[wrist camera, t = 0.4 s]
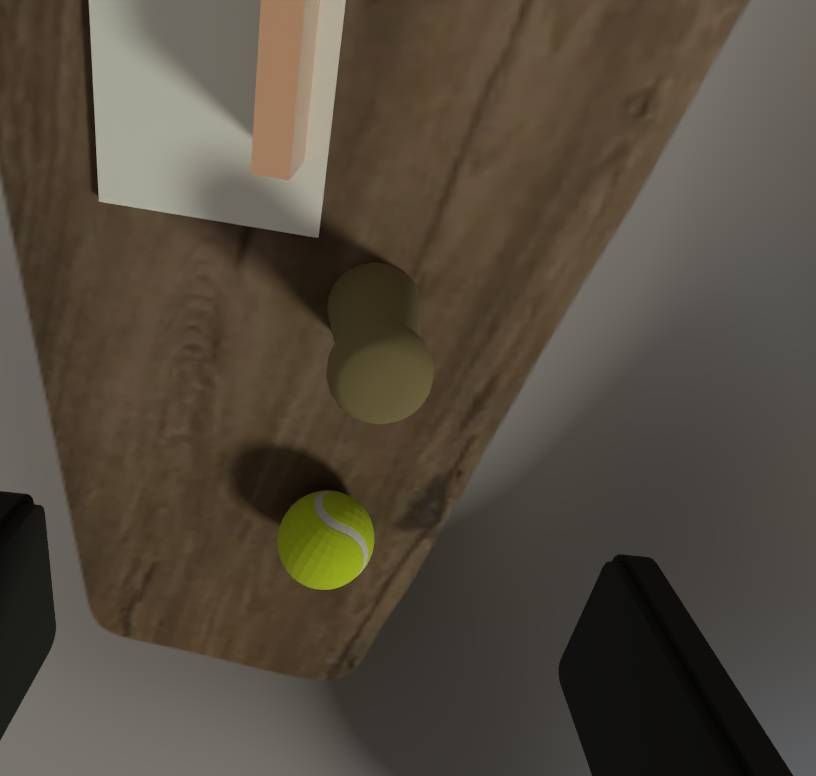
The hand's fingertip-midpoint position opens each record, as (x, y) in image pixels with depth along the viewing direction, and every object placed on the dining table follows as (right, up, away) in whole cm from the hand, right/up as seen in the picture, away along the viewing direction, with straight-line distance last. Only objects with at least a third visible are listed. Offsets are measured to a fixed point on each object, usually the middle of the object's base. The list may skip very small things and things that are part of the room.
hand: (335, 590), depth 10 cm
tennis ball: (-5, -5, +33) cm, 34 cm away
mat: (-8, +20, +20) cm, 29 cm away
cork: (-1, +9, +27) cm, 28 cm away
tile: (-4, +19, +20) cm, 28 cm away
